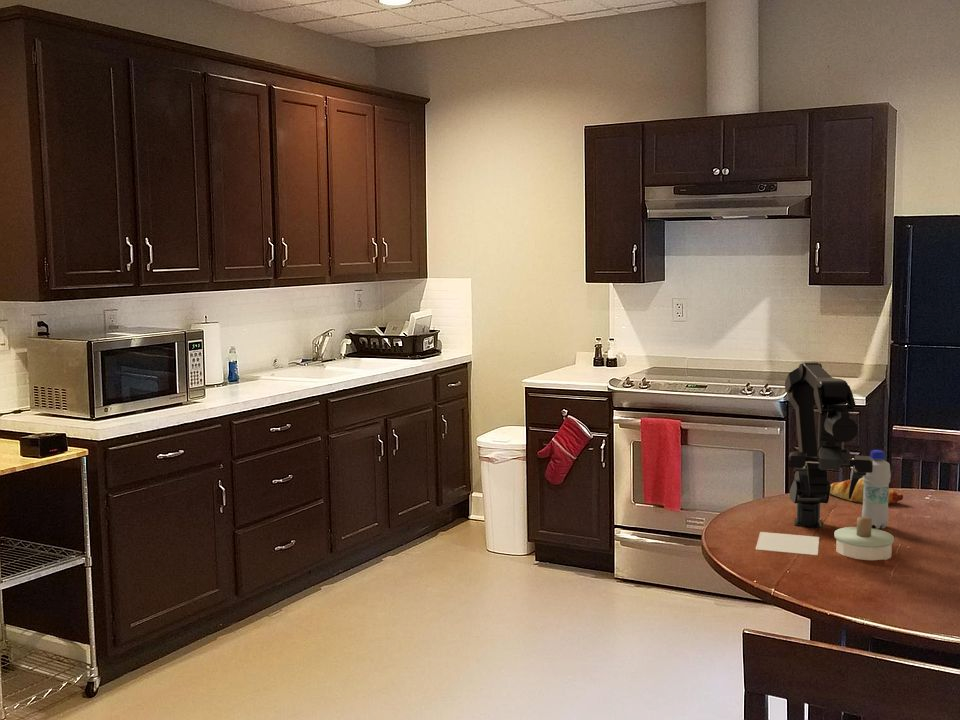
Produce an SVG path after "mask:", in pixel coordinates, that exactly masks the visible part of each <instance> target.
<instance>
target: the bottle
mask: <svg viewBox="0 0 960 720" xmlns="http://www.w3.org/2000/svg"><path fill="white" fill-rule="evenodd" d="M885 454H886V453H885V451H884V450H881V449H873V450H871V451H870V454H869V456H870V457H871V458H872V461H873V471H872V472H871V473H866V475H865V476H862V477H861V478H862V479H863V481H864V491H863V503H862V508H861V509H862V510H861V517H869V518H871V519H872V526H875V529H878V530H881V529H882V530H883V529H884V530H885V528H886V527H887V525H888V522H889V504H888V493H889V489H890V487H889V485H890V483H891V477H892V475H891V466H890V465H891V464H890V463H889V462H888V461H886V460H885V458H886V455H885Z"/></svg>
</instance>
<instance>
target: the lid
mask: <svg viewBox="0 0 960 720" xmlns="http://www.w3.org/2000/svg"><path fill="white" fill-rule="evenodd" d="M834 539H836V541H837V540H838V541H840V542H843V543H845V544H849V545H853V546H859V547H885V546H889V545H891V544H892V545H893V544H894V543H895V537H894V536H893V535H892V534H891V532H887V531H885V530H883V529H882V530H881V529H876V528H873V525H872V519H871V518H869V517H862V516H858V517H856V526H848V527H847V526H845V527H841V528H838V529H836V530H835V531H834Z"/></svg>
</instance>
